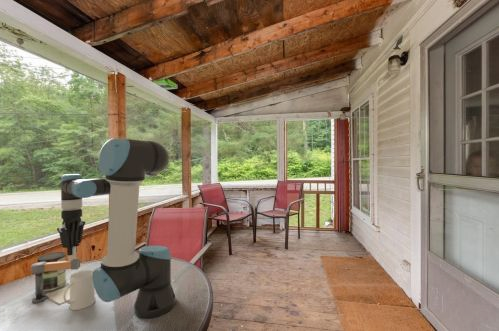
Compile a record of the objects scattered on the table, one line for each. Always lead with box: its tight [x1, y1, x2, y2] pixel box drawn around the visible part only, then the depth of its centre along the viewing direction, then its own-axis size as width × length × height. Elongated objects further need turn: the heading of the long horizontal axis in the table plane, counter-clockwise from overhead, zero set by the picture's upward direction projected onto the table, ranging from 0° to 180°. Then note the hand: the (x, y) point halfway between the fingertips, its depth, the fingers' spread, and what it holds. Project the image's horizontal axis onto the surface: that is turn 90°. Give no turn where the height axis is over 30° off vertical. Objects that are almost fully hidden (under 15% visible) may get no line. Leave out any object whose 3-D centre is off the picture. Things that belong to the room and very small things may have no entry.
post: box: [31, 272, 47, 304], centre depth 99 cm, size 4×4×12 cm
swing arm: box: [30, 258, 81, 275], centre depth 100 cm, size 17×5×4 cm, turn 105°
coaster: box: [45, 286, 70, 306], centre depth 104 cm, size 13×13×1 cm
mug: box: [63, 269, 96, 311], centre depth 94 cm, size 12×8×12 cm
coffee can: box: [36, 251, 67, 292], centre depth 111 cm, size 10×10×14 cm
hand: (72, 261), depth 106 cm, fingers closed
